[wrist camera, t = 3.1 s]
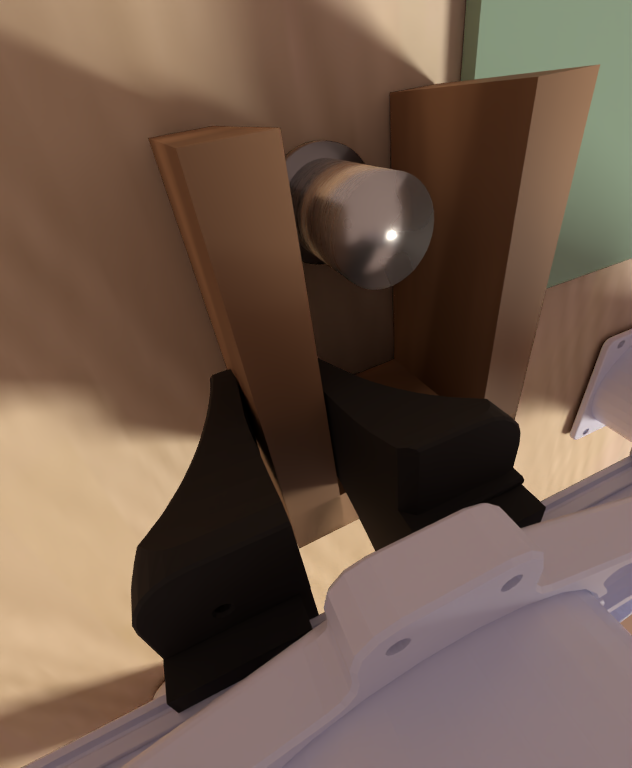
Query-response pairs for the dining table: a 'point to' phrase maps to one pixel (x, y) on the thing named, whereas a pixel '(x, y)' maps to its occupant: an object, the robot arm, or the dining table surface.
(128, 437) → the dining table surface
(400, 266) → the metal door knob
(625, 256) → the green rubber mat
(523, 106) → the walnut C-link
